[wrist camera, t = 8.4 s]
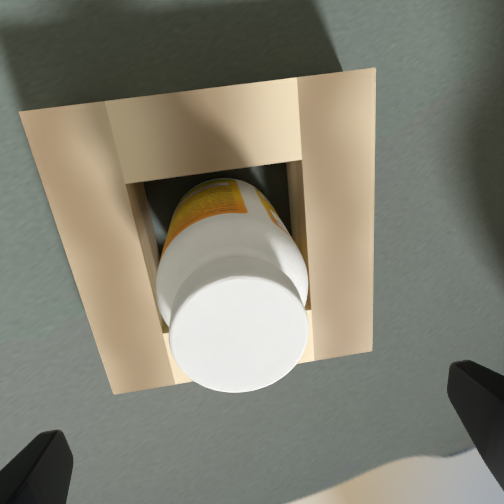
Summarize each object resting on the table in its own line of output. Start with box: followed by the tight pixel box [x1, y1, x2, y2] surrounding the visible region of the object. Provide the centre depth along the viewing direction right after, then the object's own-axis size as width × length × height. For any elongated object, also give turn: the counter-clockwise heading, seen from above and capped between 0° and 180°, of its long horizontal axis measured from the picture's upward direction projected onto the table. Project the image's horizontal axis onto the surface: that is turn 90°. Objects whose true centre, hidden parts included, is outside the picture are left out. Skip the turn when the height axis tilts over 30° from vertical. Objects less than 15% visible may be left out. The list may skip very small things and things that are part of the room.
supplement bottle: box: [156, 178, 309, 393], centre depth 15 cm, size 5×5×10 cm
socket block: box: [19, 68, 376, 395], centre depth 18 cm, size 13×13×4 cm
